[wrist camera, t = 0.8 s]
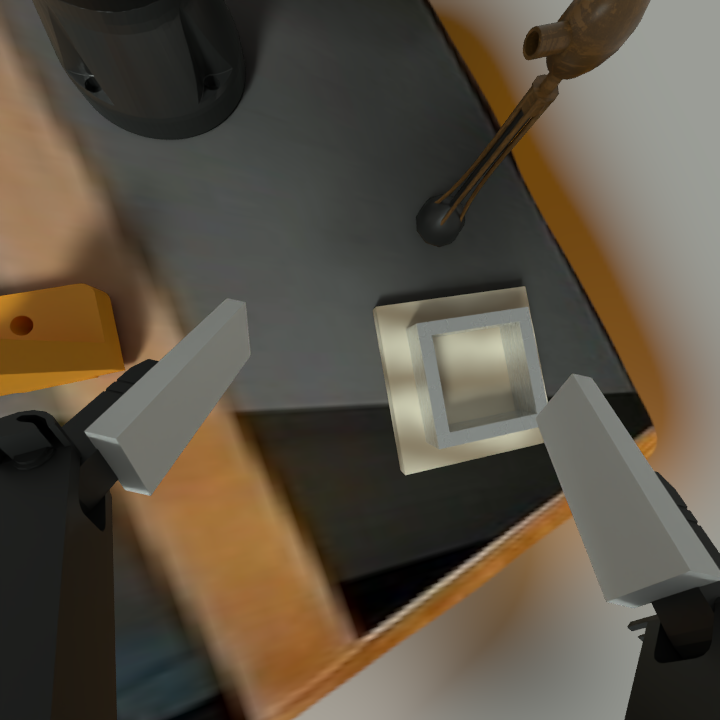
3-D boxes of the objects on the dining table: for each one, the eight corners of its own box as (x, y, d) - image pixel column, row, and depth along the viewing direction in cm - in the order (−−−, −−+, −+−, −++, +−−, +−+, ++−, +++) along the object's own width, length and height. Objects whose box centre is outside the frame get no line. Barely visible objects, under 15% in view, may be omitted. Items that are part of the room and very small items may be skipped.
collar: (405, 329, 29) (416, 323, 26) (507, 313, 31) (528, 306, 28) (426, 442, 29) (439, 449, 26) (528, 419, 30) (551, 424, 27)
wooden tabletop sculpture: (415, 254, 31) (590, 38, 12) (400, 212, 31) (547, -74, 12) (465, 238, 32) (704, 15, 12) (450, 198, 32) (664, -88, 13)
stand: (372, 310, 30) (375, 306, 29) (515, 290, 33) (525, 286, 31) (400, 470, 30) (405, 475, 28) (544, 437, 32) (555, 440, 31)
